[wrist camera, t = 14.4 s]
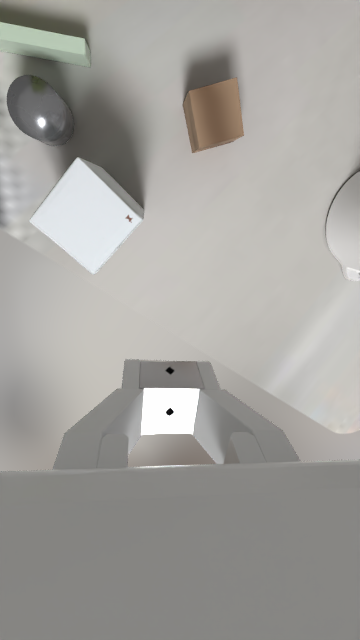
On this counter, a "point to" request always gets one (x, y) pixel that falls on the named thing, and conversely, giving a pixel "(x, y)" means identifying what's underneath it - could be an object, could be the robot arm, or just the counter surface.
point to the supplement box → (88, 214)
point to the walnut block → (213, 115)
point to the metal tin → (39, 111)
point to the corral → (44, 44)
